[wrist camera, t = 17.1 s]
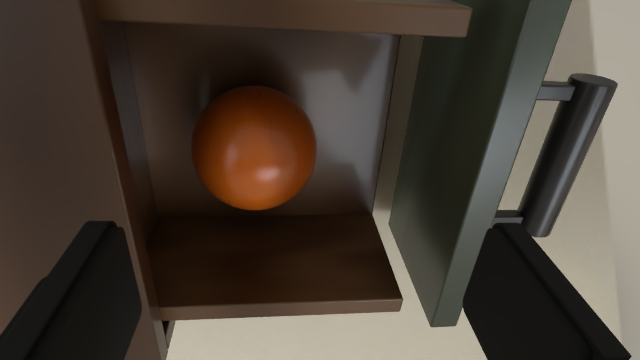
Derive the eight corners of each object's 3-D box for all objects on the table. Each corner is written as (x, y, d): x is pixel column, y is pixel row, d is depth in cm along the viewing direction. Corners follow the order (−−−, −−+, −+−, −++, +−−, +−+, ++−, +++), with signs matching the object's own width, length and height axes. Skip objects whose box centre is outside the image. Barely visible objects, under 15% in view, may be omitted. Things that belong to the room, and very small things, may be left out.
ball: (342, 106, 14) (192, 119, 12) (331, 223, 16) (206, 247, 15) (296, 67, 18) (178, 72, 16) (293, 166, 20) (190, 179, 18)
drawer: (568, -27, 17) (737, -8, 11) (483, 223, 24) (557, 322, 18) (97, -60, 15) (-30, -60, 9) (152, 227, 22) (103, 343, 16)
